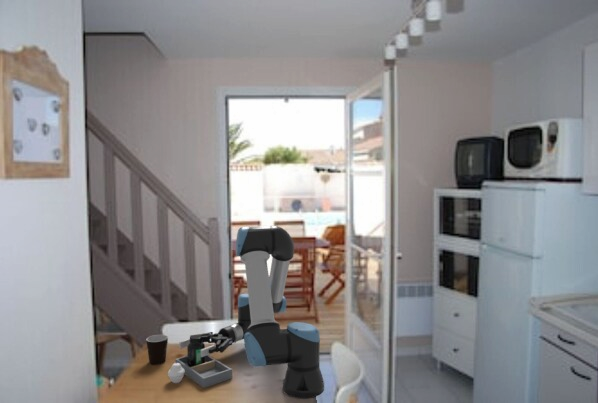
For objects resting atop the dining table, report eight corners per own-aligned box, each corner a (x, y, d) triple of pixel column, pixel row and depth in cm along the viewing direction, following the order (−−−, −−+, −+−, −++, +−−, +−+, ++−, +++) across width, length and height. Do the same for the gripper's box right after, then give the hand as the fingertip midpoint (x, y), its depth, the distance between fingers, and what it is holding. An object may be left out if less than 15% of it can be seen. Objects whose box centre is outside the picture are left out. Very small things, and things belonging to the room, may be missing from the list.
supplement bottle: (202, 369, 168) (202, 339, 167) (185, 369, 168) (185, 339, 167) (206, 362, 175) (206, 333, 174) (190, 362, 175) (189, 333, 174)
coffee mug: (161, 366, 172) (161, 342, 172) (142, 365, 174) (142, 341, 174) (175, 355, 184) (175, 333, 183) (157, 354, 185) (157, 331, 185)
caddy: (232, 378, 162) (232, 369, 162) (203, 388, 154) (203, 378, 154) (202, 359, 180) (202, 351, 180) (175, 367, 172) (175, 359, 172)
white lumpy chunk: (167, 379, 161) (167, 361, 161) (184, 376, 164) (183, 358, 163) (168, 386, 156) (168, 367, 155) (185, 383, 158) (185, 365, 158)
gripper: (250, 350, 178) (210, 366, 161) (211, 336, 193) (171, 351, 177) (250, 332, 177) (210, 347, 161) (211, 320, 193) (171, 333, 176)
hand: (190, 349), depth 169 cm, fingers open, 13 cm apart
